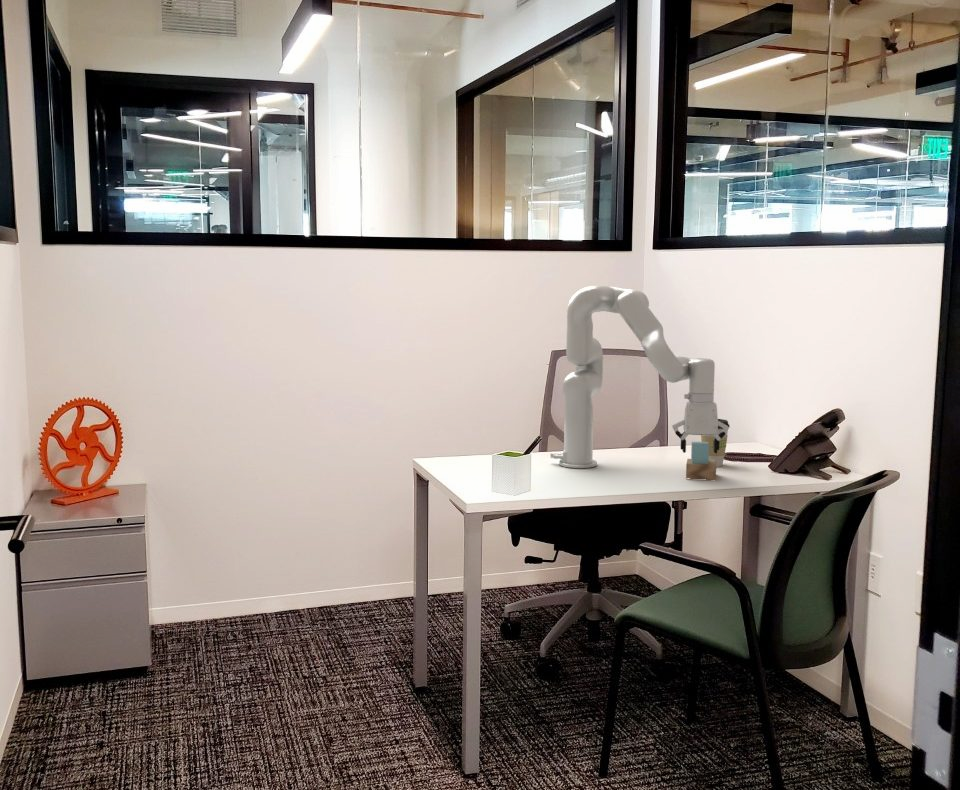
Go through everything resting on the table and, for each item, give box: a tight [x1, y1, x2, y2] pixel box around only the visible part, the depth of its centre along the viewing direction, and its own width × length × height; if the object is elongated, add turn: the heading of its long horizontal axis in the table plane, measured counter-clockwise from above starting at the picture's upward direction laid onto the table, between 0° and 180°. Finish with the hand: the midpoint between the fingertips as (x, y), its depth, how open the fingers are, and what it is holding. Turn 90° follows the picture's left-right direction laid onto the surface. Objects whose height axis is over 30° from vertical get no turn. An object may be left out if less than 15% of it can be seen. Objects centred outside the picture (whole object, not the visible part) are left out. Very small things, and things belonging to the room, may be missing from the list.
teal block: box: [690, 441, 709, 464], centre depth 291 cm, size 5×5×6 cm
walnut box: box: [685, 458, 717, 481], centre depth 291 cm, size 9×9×5 cm
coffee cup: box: [700, 418, 730, 468], centre depth 309 cm, size 10×10×15 cm
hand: (699, 452), depth 291 cm, fingers open, 9 cm apart
